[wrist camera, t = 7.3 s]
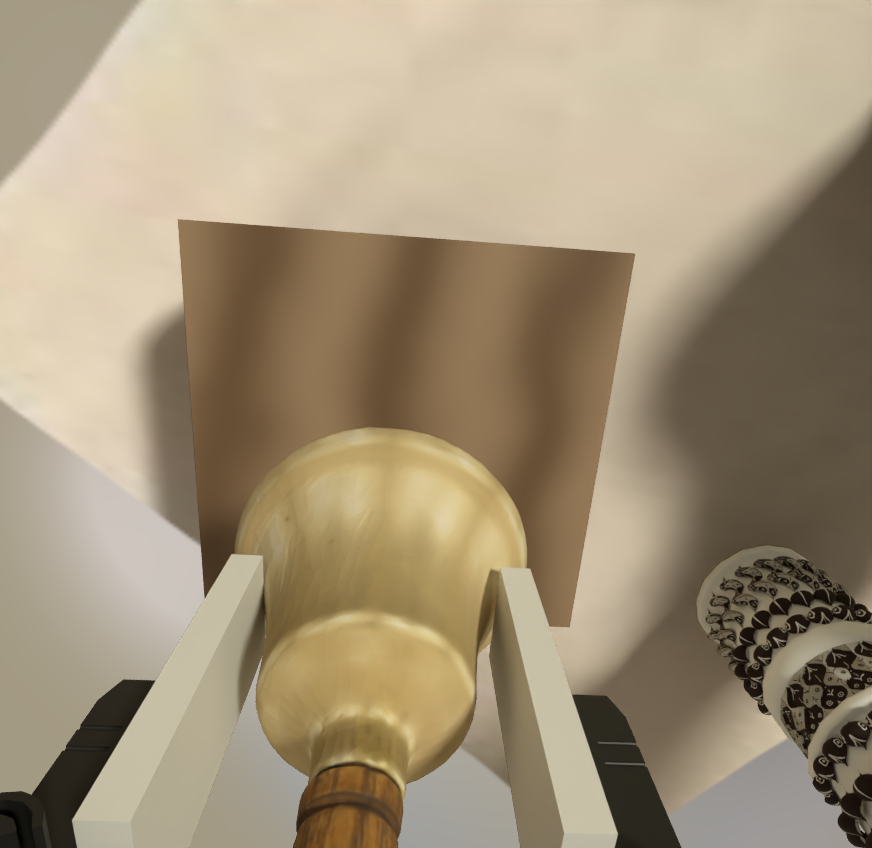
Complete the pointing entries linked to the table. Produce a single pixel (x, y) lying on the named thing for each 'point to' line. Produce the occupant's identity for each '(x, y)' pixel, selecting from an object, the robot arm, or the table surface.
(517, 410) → the walnut stool
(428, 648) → the hand bell
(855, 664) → the decorative candle
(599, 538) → the table surface
